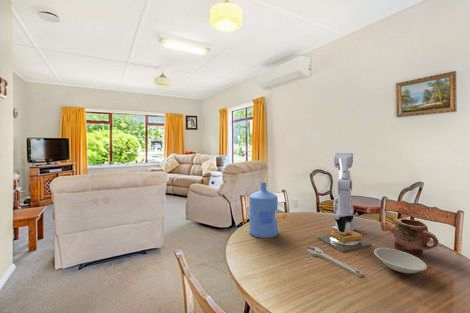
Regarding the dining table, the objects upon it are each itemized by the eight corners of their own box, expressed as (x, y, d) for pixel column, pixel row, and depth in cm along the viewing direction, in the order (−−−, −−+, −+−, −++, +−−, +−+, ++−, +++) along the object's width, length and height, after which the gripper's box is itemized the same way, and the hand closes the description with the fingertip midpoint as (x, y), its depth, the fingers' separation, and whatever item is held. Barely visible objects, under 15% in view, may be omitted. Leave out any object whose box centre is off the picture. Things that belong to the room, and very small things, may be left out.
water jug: (243, 233, 125) (243, 183, 124) (260, 225, 137) (260, 179, 136) (266, 241, 115) (266, 186, 113) (283, 232, 126) (283, 182, 125)
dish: (364, 261, 94) (364, 249, 94) (392, 257, 97) (392, 245, 97) (406, 287, 77) (406, 272, 77) (437, 280, 80) (438, 266, 80)
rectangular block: (341, 233, 115) (341, 219, 115) (349, 235, 112) (349, 221, 112) (337, 235, 113) (337, 221, 113) (345, 237, 110) (345, 223, 109)
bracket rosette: (344, 233, 123) (344, 225, 123) (371, 245, 108) (371, 236, 108) (317, 239, 117) (318, 230, 117) (342, 252, 102) (343, 242, 102)
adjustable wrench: (364, 276, 84) (364, 272, 84) (352, 281, 81) (352, 276, 81) (314, 248, 107) (314, 245, 106) (303, 251, 104) (303, 248, 104)
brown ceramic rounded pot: (448, 261, 94) (449, 228, 93) (429, 267, 89) (430, 232, 89) (399, 242, 112) (399, 214, 112) (381, 246, 108) (381, 217, 108)
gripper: (344, 199, 119) (343, 225, 120) (328, 204, 111) (328, 231, 111) (357, 202, 114) (357, 229, 114) (342, 207, 105) (342, 236, 106)
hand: (343, 230), depth 112 cm, fingers closed on rectangular block, 4 cm apart
